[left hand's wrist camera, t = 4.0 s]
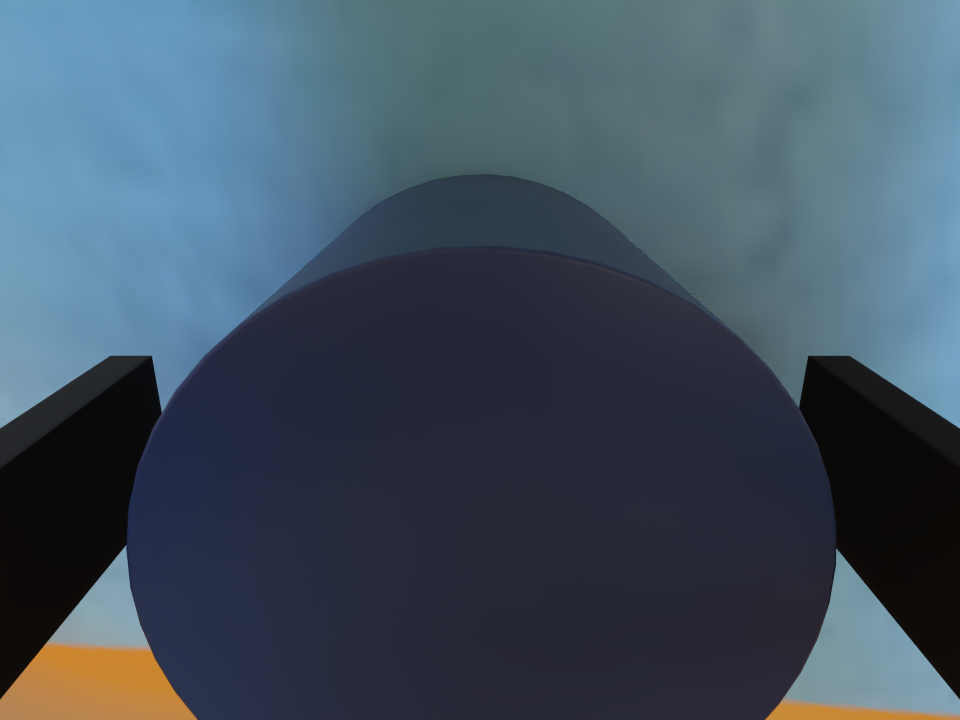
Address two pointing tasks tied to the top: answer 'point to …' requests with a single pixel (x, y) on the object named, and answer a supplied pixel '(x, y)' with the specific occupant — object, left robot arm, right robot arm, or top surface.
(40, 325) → the top surface
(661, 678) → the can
